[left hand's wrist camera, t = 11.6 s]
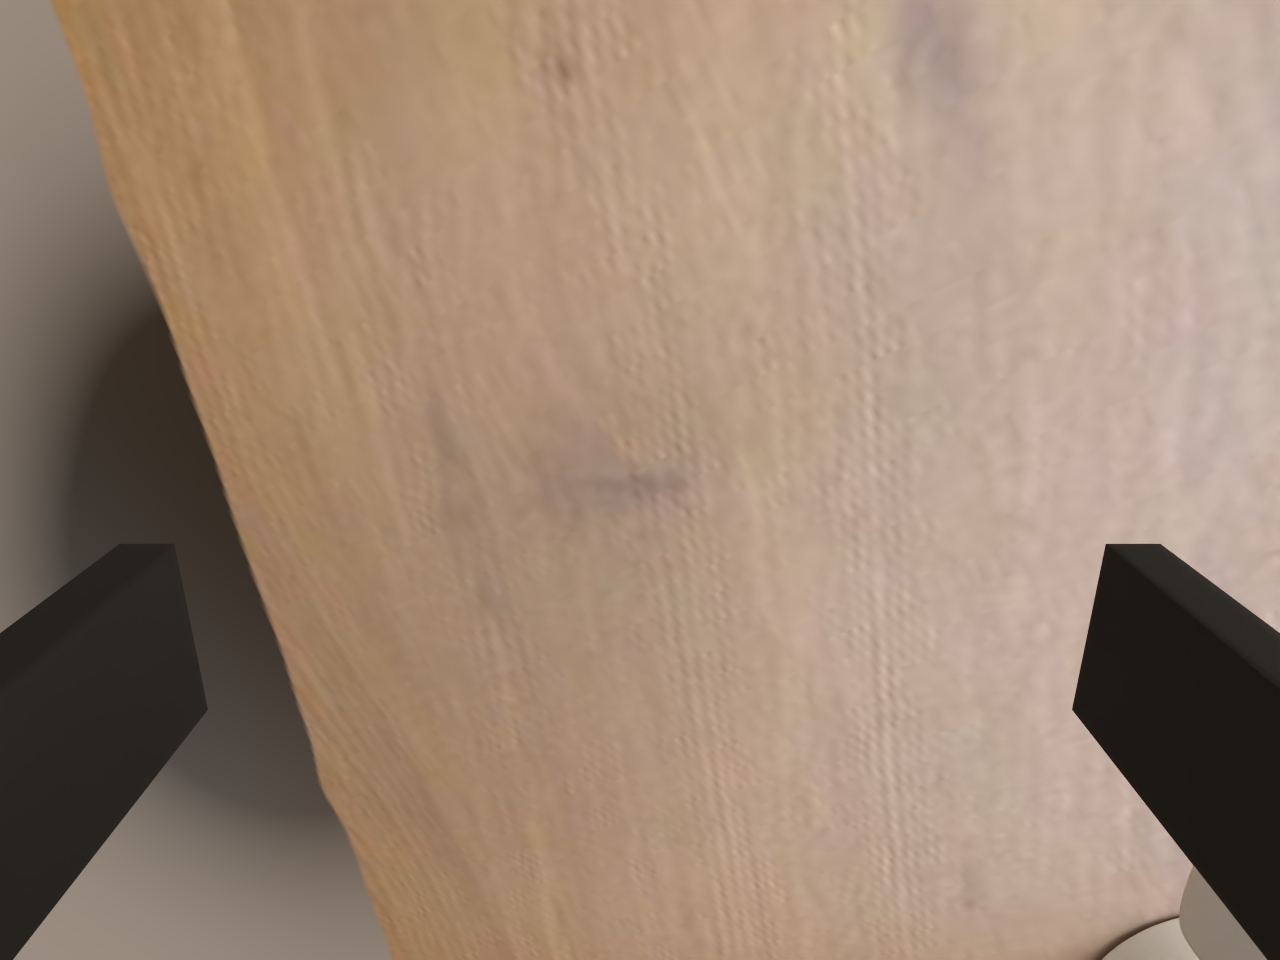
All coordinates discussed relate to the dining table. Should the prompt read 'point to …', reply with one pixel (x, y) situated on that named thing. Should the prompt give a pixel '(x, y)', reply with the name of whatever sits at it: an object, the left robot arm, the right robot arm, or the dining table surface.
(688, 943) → the dining table surface
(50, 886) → the left robot arm
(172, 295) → the dining table surface
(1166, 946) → the right robot arm
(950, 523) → the dining table surface
